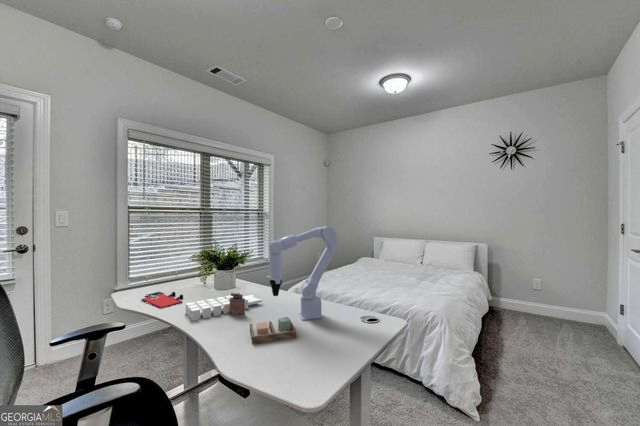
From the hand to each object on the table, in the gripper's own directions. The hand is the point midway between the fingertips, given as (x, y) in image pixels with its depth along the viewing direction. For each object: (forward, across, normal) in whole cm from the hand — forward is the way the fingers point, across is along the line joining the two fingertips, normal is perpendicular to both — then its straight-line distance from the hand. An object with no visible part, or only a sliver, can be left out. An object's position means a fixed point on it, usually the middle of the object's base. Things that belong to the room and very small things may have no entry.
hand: (275, 295), depth 131 cm
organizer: (+11, -20, -22) cm, 32 cm away
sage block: (+10, +16, +1) cm, 19 cm away
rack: (+10, +16, -4) cm, 19 cm away
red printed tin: (+11, -11, -17) cm, 23 cm away
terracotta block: (+11, +18, -8) cm, 22 cm away
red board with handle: (+11, -47, -57) cm, 75 cm away
